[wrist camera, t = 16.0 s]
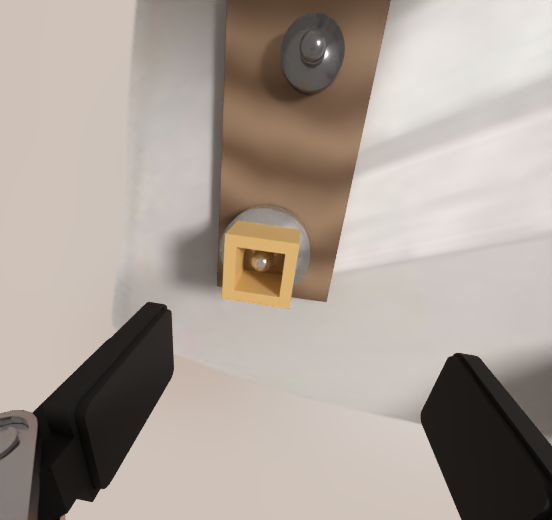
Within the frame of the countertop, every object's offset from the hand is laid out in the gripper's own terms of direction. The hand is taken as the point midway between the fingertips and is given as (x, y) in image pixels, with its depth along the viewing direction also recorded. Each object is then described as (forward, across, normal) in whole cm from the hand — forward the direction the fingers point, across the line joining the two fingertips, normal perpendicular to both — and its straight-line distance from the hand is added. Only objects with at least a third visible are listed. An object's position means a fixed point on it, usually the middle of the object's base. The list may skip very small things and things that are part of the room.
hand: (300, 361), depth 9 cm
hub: (+20, +3, +4) cm, 21 cm away
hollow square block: (+17, +3, +4) cm, 18 cm away
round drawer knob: (+21, +2, -13) cm, 25 cm away
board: (+22, +2, -5) cm, 23 cm away
